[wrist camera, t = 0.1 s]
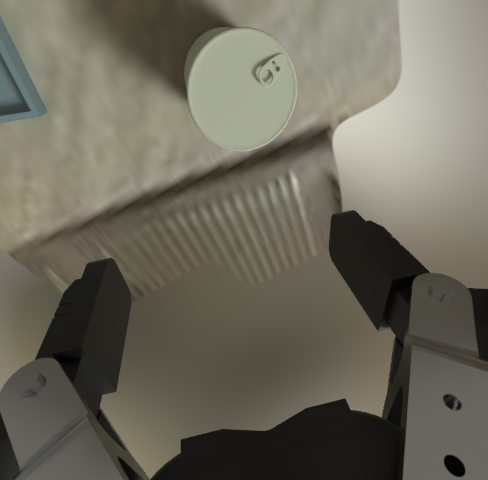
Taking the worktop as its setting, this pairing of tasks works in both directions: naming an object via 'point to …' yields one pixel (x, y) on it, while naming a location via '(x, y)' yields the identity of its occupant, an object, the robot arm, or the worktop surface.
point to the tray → (16, 84)
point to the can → (239, 87)
